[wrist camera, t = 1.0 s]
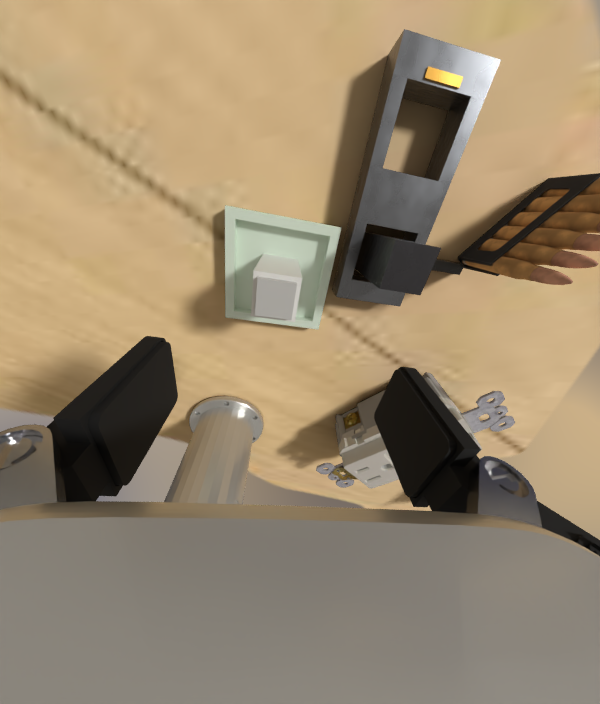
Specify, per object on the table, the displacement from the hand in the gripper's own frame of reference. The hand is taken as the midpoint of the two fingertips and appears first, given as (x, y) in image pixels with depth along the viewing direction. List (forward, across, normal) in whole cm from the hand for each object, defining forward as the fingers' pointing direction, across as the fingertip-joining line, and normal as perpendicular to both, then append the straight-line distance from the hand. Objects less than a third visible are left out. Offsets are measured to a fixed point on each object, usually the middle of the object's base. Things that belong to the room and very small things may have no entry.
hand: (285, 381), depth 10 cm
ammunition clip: (+22, -24, -9) cm, 34 cm away
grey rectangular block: (+21, +1, 0) cm, 21 cm away
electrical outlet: (+21, -21, +21) cm, 37 cm away
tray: (+21, +1, 0) cm, 21 cm away
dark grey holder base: (+21, -14, -9) cm, 27 cm away
